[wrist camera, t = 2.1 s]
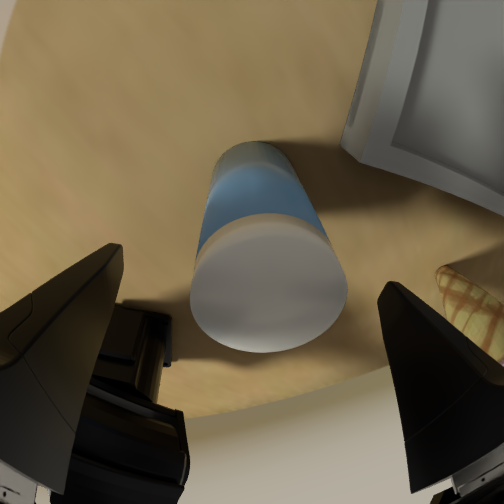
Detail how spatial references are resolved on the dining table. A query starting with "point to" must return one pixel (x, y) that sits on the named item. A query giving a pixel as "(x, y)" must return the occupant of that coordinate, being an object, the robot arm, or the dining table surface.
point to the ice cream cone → (473, 311)
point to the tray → (434, 97)
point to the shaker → (263, 257)
